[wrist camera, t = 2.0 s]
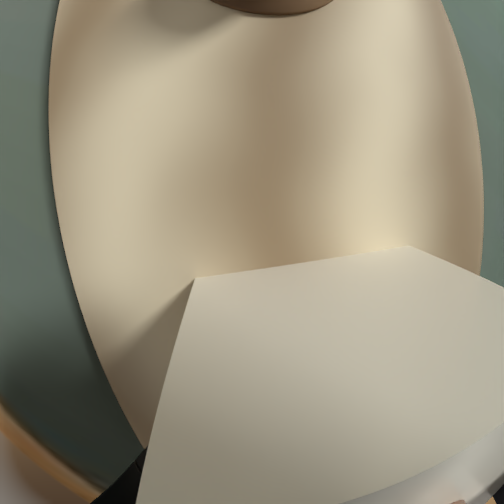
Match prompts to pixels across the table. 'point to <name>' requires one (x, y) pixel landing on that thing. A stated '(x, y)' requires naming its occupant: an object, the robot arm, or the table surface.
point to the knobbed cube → (334, 387)
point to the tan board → (248, 154)
